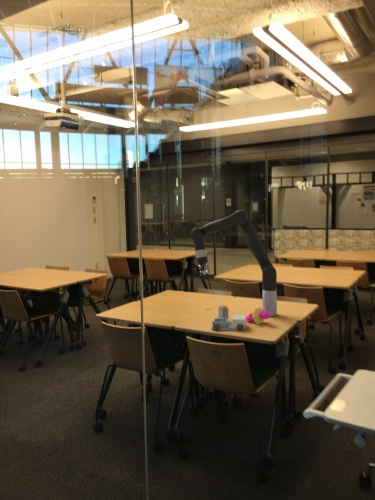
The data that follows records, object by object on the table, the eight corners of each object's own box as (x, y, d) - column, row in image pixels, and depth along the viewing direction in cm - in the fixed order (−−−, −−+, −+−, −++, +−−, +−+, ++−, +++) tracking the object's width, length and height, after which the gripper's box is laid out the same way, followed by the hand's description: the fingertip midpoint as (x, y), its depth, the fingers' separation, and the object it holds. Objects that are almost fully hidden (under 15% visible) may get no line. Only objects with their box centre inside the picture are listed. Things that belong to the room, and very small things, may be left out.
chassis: (245, 324, 254) (245, 314, 253) (245, 331, 241) (245, 320, 240) (213, 324, 257) (213, 313, 256) (211, 330, 244) (211, 319, 243)
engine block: (224, 320, 265) (223, 305, 264) (228, 321, 261) (228, 306, 260) (218, 321, 263) (218, 306, 262) (222, 322, 259) (222, 307, 258)
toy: (255, 319, 268) (247, 306, 267) (276, 316, 255) (269, 302, 253) (247, 328, 262) (239, 315, 260) (269, 326, 248) (261, 312, 247)
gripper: (202, 255, 270) (207, 280, 268) (210, 255, 283) (214, 278, 281) (192, 257, 272) (196, 281, 271) (200, 257, 286) (204, 280, 284)
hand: (205, 280), depth 276 cm, fingers open, 8 cm apart
